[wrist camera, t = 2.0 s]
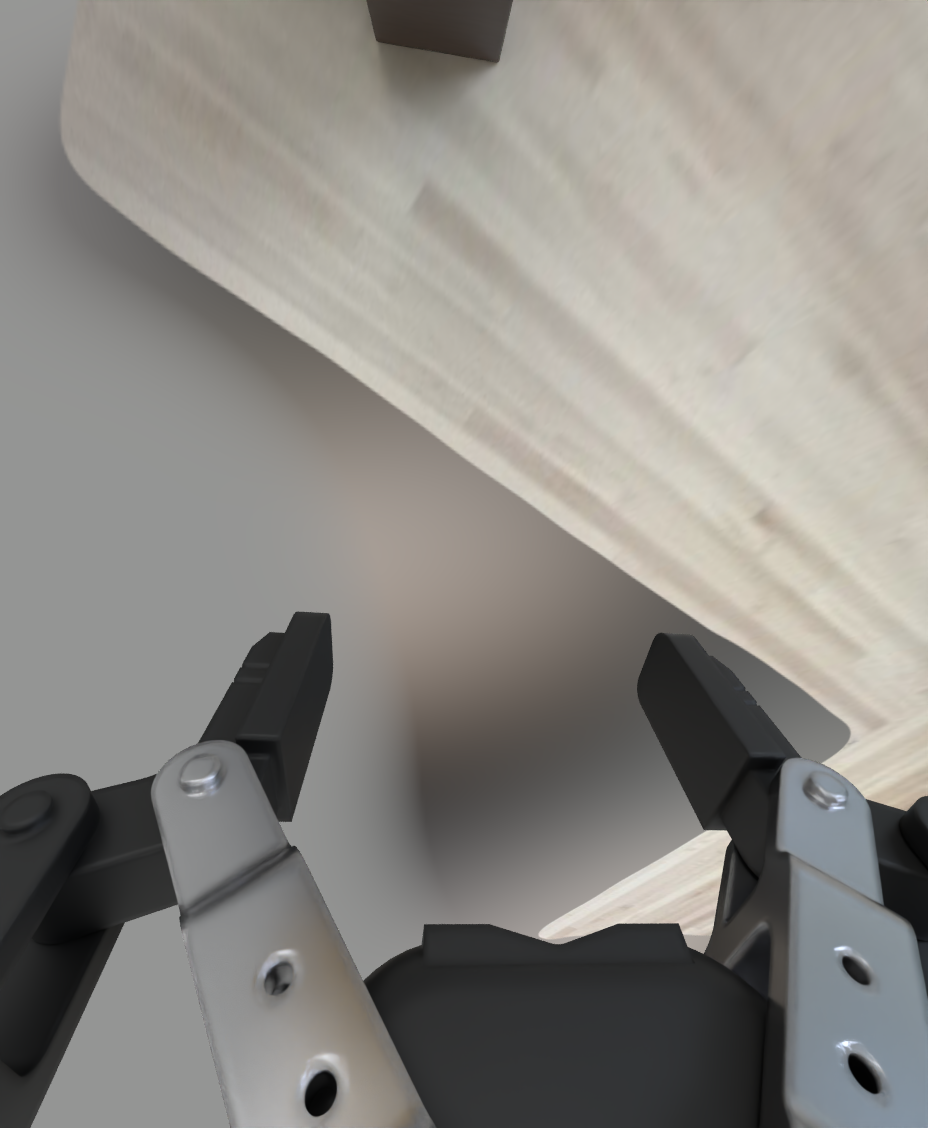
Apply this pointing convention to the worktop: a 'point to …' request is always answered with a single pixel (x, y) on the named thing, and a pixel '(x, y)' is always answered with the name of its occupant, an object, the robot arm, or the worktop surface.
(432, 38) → the stand
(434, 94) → the worktop surface
